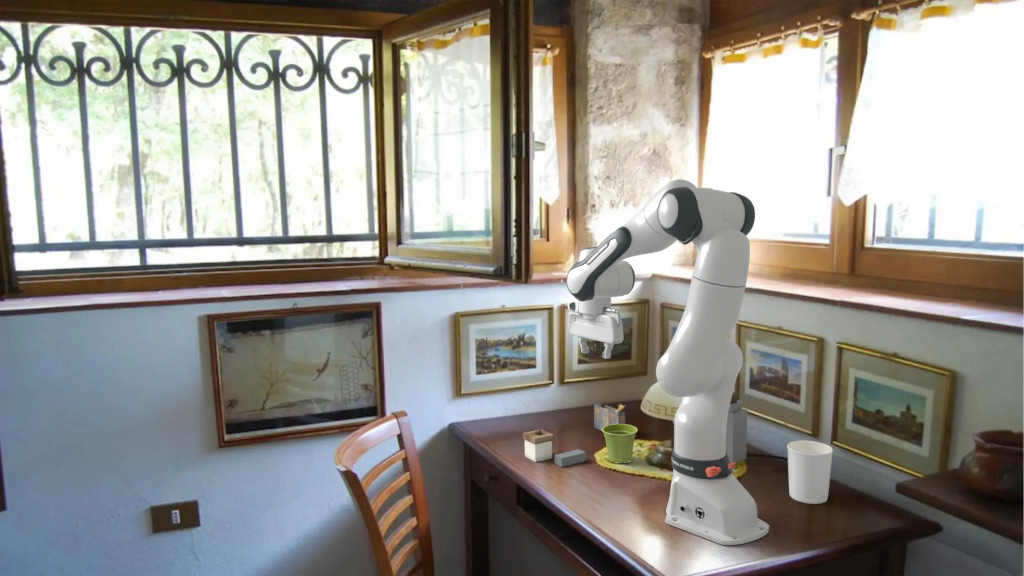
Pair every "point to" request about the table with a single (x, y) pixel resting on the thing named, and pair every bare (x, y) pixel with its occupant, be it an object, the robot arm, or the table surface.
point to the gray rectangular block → (570, 458)
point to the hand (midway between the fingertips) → (595, 355)
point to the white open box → (538, 451)
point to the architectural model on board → (608, 416)
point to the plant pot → (619, 441)
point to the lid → (538, 436)
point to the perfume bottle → (736, 430)
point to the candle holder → (809, 471)
